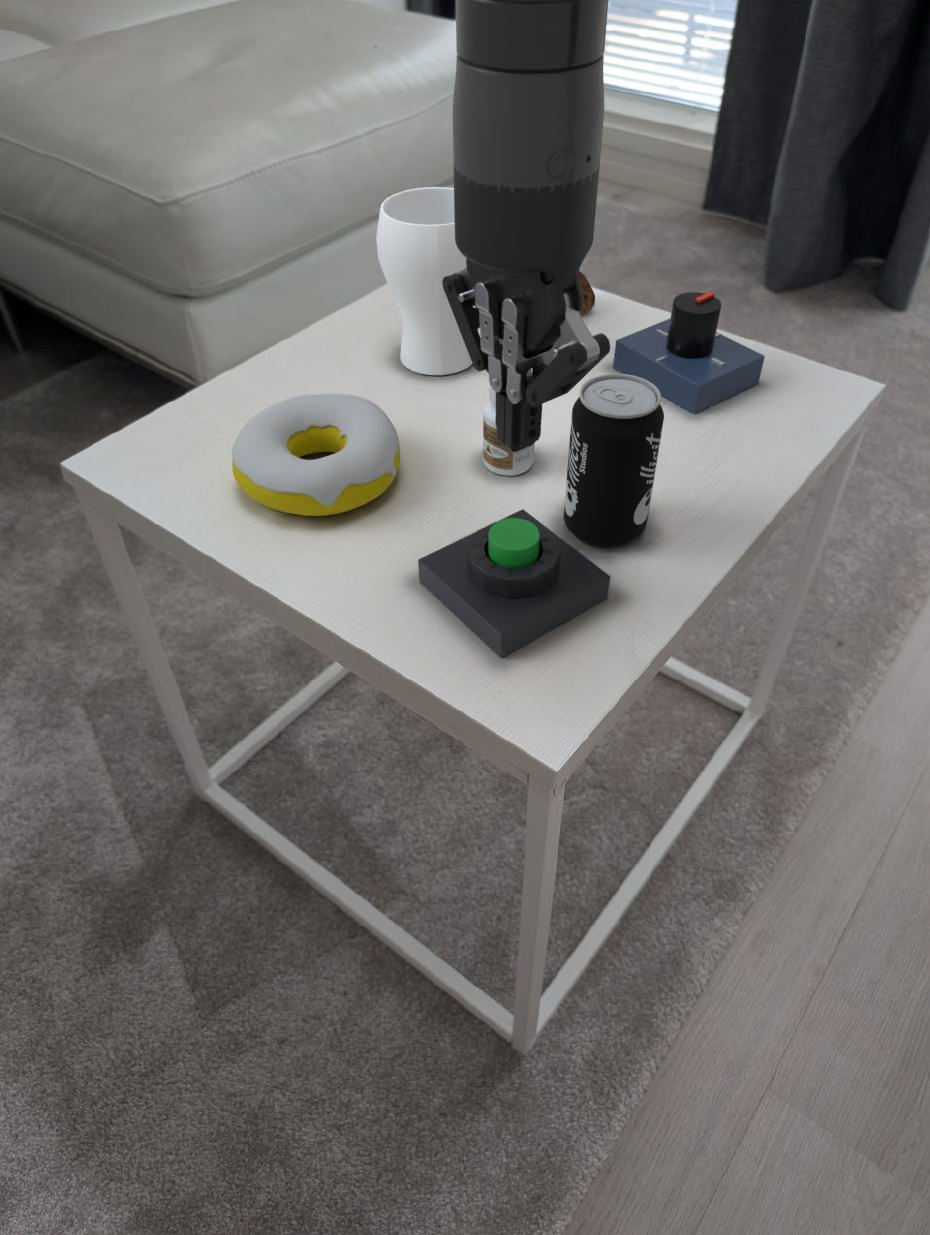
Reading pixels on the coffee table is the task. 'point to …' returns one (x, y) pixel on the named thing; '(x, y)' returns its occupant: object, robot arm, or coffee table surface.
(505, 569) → the button block
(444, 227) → the cup
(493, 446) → the pill bottle
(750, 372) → the control panel
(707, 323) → the program dial
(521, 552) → the button
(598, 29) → the robot arm
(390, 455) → the donut
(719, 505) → the coffee table surface
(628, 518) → the beverage can
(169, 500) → the coffee table surface
